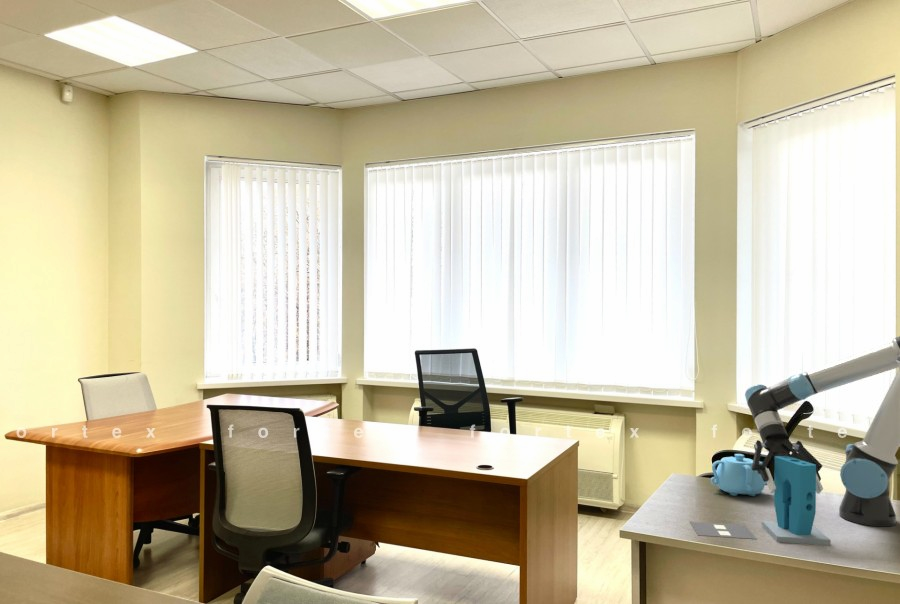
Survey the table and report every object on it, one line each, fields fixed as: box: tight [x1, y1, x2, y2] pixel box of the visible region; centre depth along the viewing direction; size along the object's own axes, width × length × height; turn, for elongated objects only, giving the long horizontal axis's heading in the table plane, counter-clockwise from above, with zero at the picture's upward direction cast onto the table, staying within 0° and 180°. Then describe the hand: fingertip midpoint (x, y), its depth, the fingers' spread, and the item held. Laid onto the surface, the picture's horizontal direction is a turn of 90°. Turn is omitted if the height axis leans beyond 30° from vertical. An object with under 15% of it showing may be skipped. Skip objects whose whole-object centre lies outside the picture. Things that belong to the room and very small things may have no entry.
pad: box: [761, 520, 832, 546], centre depth 192 cm, size 14×14×2 cm
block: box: [773, 456, 817, 535], centre depth 192 cm, size 12×5×20 cm, turn 12°
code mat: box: [689, 521, 757, 540], centre depth 195 cm, size 16×12×1 cm
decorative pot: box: [710, 453, 768, 497], centre depth 237 cm, size 16×16×14 cm
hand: (796, 491), depth 192 cm, fingers open, 13 cm apart
